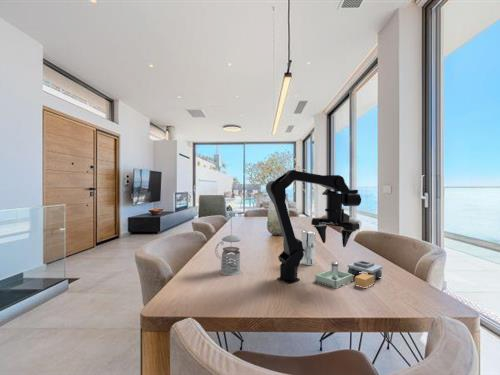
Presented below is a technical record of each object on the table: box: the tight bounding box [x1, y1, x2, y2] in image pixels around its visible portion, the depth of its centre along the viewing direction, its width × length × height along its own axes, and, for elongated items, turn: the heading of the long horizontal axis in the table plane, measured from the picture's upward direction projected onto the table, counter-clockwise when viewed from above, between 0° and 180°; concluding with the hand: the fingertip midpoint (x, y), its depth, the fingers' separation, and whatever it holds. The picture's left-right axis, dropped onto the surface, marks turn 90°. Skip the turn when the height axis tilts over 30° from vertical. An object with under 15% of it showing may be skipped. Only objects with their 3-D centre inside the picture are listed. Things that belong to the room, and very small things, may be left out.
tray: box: [314, 269, 354, 289], centre depth 104 cm, size 12×9×2 cm
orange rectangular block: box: [354, 272, 375, 287], centre depth 100 cm, size 7×4×4 cm, turn 130°
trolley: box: [347, 259, 383, 281], centre depth 109 cm, size 9×10×6 cm
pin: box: [330, 261, 339, 280], centre depth 104 cm, size 2×2×6 cm
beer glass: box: [300, 230, 317, 266], centre depth 127 cm, size 7×7×15 cm
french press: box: [214, 212, 243, 276], centre depth 114 cm, size 10×12×25 cm
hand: (333, 244), depth 109 cm, fingers open, 9 cm apart
